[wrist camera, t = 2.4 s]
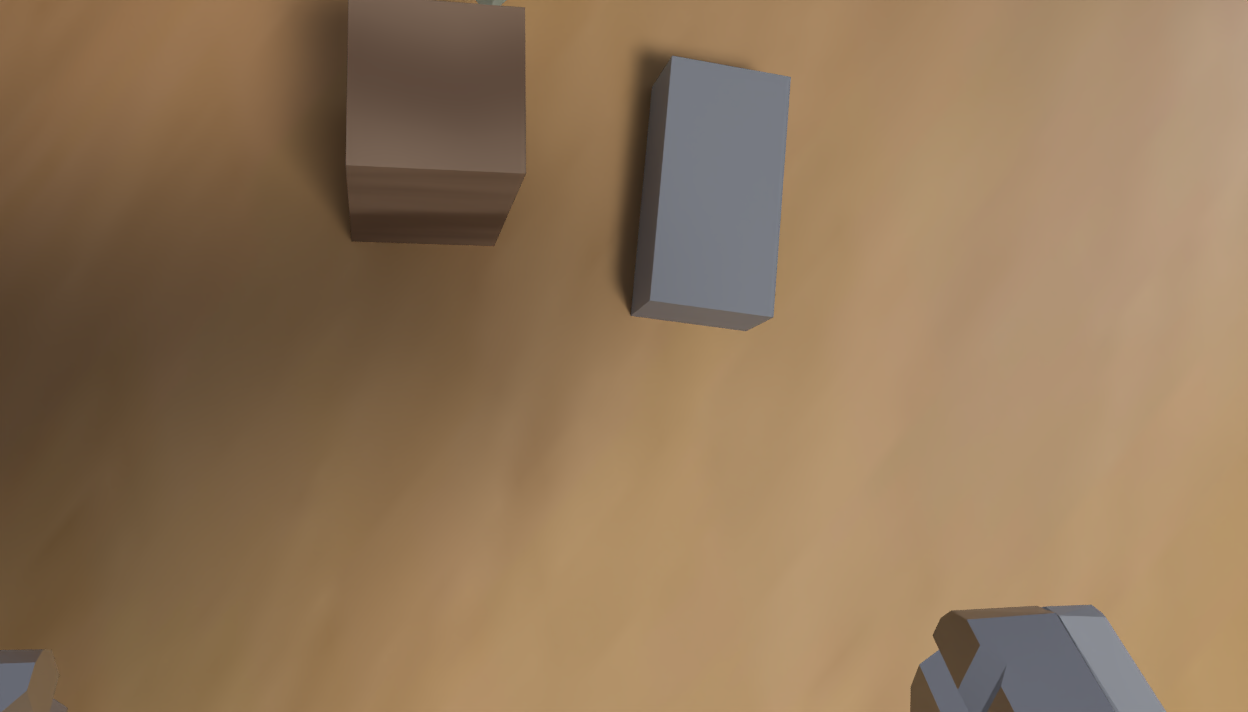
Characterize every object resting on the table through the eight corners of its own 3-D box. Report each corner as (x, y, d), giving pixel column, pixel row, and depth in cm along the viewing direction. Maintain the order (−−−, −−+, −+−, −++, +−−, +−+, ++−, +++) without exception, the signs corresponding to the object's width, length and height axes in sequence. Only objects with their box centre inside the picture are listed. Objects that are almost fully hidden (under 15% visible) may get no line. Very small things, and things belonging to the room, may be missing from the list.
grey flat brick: (743, 332, 39) (773, 317, 36) (628, 317, 38) (650, 300, 35) (760, 108, 40) (790, 77, 37) (650, 89, 39) (672, 55, 36)
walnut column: (494, 246, 37) (525, 173, 29) (351, 241, 36) (345, 165, 28) (493, 112, 38) (524, 7, 30) (353, 104, 37) (348, -7, 29)
